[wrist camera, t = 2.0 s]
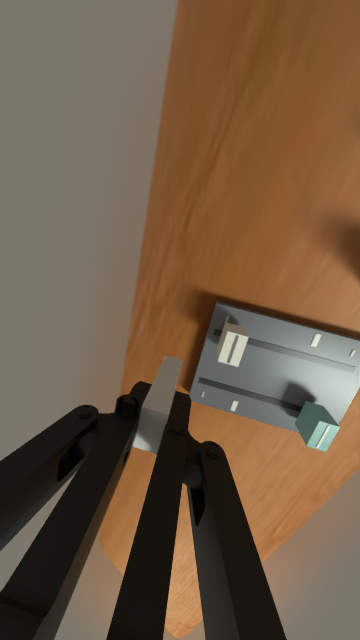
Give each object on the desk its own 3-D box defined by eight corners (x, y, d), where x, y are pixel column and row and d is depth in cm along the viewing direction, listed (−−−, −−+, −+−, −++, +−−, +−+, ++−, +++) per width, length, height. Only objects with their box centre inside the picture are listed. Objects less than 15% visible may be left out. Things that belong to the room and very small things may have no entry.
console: (216, 300, 31) (216, 303, 29) (371, 341, 30) (382, 347, 28) (189, 392, 36) (187, 400, 34) (322, 431, 34) (329, 442, 32)
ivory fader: (225, 321, 29) (227, 331, 25) (243, 325, 29) (248, 337, 25) (216, 347, 31) (217, 361, 26) (234, 352, 30) (238, 367, 26)
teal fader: (304, 398, 31) (319, 421, 26) (321, 403, 31) (340, 427, 26) (293, 420, 32) (306, 446, 28) (310, 425, 32) (326, 452, 27)
